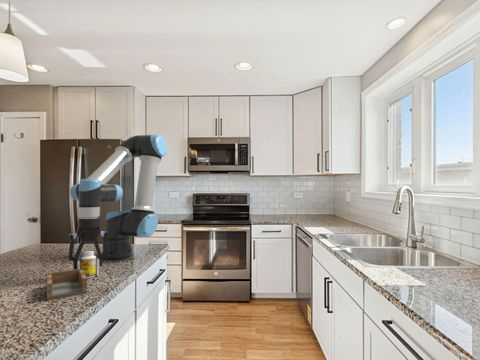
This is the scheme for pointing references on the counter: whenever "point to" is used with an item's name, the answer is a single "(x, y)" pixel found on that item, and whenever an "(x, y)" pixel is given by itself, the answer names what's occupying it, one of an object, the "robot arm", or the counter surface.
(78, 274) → the walnut u rest
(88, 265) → the supplement bottle
